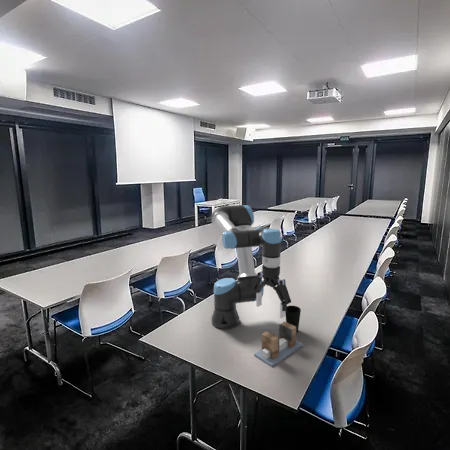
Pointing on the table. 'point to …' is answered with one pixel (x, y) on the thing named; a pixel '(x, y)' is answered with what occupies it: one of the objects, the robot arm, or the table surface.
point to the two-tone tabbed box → (271, 343)
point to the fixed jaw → (288, 333)
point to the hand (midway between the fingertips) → (270, 311)
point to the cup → (293, 316)
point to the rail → (283, 352)
